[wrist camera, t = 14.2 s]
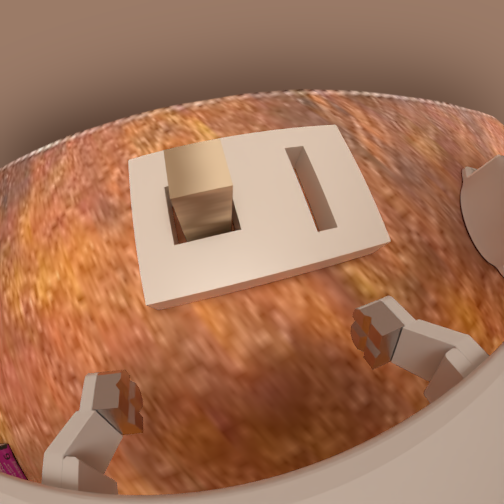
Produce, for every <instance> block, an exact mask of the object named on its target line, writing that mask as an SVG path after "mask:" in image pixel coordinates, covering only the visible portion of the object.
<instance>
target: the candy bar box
mask: <svg viewBox="0 0 504 504" xmlns="http://www.w3.org/2000/svg"><path fill="white" fill-rule="evenodd" d="M0 472H2V473H5V474H8V475H11V476H14V477H18V478H21V479H25V480H27V479H26V477H25V475H24V474H23V472H22V470H21V468H20V466H19V465H18V463H17V461H16V459H15V457H14V455H13V453H12V451H11V449H10V447H9V445H8V444H0Z"/></svg>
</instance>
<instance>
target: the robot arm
mask: <svg viewBox="0 0 504 504" xmlns="http://www.w3.org/2000/svg"><path fill="white" fill-rule="evenodd" d="M462 177H463V186H462V189H461V208H462V213H463V217H464V221H465V224H466V227H467V229H468V232H469V234H470V236H471V238H472V240H473V242H474V244H475V246H476V248H477V249H478V251H479V252H480V253H481V255H482V256H483V257H484V258H485V259H486V260H487V261H488V262H489V263H491V264H492V265H494V266H495V267H496V268H497V269H498V270H499V272H500V273H501V275H502V276H503V277H504V156H501V155H496V156H495V157H494V158H492V159H491V160H489V161H488V162H487V163H485V164H484V165H483V166H481V167H480V168H479V169H475V168H471V167H465V168H463V169H462ZM353 318H354V320H355V322H354V323H353V324H352V326H351V337H352V340H353V343H354V345H355V346H356V347H357V349H359V350H361V351H364V359H365V360H366V361H367V363H368V364H369V366H370V367H371V368H372V370H373V369H375V368H377V367H379V366H381V365H384V364H386V363H388V362H390V361H391V362H392V363H394V364H396V365H398V366H399V367H401V368H403V369H405V370H407V371H409V372H411V373H413V374H415V375H417V376H419V377H421V378H423V379H425V380H427V381H429V382H430V383H429V384H428V386H427V388H426V389H425V391H424V395H425V397H426V398H427V399H428V401H429V402H430V404H429V405H427V406H426V407H425V408H423V409H421V410H420V411H418V412H417V413H415V414H414V415H412V416H411V417H409V418H407V419H406V420H404V421H402V422H401V423H399V424H397V425H396V426H394V427H392V428H390V429H388V430H387V431H385V432H383V433H381V434H379V435H377V436H375V437H373V438H372V439H370V440H368V441H366V442H364V443H361V444H359V445H357V446H355V447H353V448H351V449H349V450H346V451H344V452H342V453H339V454H337V455H335V456H332V457H330V458H327V459H325V460H322V461H320V462H317V463H314V464H312V465H309V466H306V467H303V468H300V469H297V470H294V471H291V472H288V473H284V474H281V475H278V476H274V477H270V478H267V479H263V480H259V481H255V482H250V483H246V484H241V485H236V486H231V487H226V488H220V489H214V490H207V491H199V492H191V493H180V494H165V495H118V489H117V482H116V481H115V480H113V479H112V478H110V477H108V476H106V475H104V473H105V471H106V469H107V467H108V465H109V463H110V461H111V459H112V457H113V455H114V453H115V451H116V449H117V447H118V445H119V443H120V441H121V439H122V437H123V436H122V435H129V434H139V433H143V417H142V416H141V414H140V413H139V412H140V410H141V409H142V407H143V399H142V395H141V391H140V389H139V387H138V386H137V384H136V383H135V382H132V381H130V375H129V373H128V372H127V371H126V370H116V371H107V372H98V373H88V374H87V375H86V376H85V380H84V385H83V391H82V397H81V403H80V410H79V411H76V412H75V413H74V414H73V416H72V417H71V418H70V420H69V421H68V422H67V424H66V425H65V426H64V427H63V429H62V430H61V431H60V433H59V434H58V435H57V437H56V438H55V439H54V441H53V442H52V443H51V445H50V446H49V447H48V449H47V450H46V451H45V453H44V460H43V471H42V484H40V483H36V482H32V481H28V480H25V479H21V478H18V477H14V476H11V475H8V474H5V473H2V472H0V504H504V342H503V343H502V344H501V345H500V346H499V347H498V348H497V349H496V350H495V351H494V352H493V353H492V354H491V355H490V356H489V355H488V354H487V353H486V352H485V351H484V350H483V349H482V348H481V347H480V346H479V345H478V344H477V343H476V342H475V341H474V340H473V339H472V338H471V337H470V336H469V335H467V334H464V333H460V332H457V331H454V330H451V329H448V328H445V327H442V326H438V325H435V324H432V323H429V322H426V321H423V320H420V319H418V320H415V319H414V318H413V317H412V316H411V315H410V314H409V313H408V312H407V311H406V310H405V309H404V308H403V307H402V306H401V305H400V304H399V303H398V302H397V301H396V300H395V299H394V298H393V297H391V296H386V297H384V298H382V299H379V300H377V301H374V302H371V303H369V304H366V305H364V306H361V307H359V308H356V309H355V310H354V312H353Z"/></svg>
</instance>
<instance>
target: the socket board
mask: <svg viewBox="0 0 504 504" xmlns="http://www.w3.org/2000/svg"><path fill="white" fill-rule="evenodd" d="M219 139H220V140H221V144H222V148H223V151H224V155H225V158H226V162H227V165H228V169H229V173H230V176H231V180H232V183H233V197H232V220H233V224H234V227H235V231H233V232H228V233H224V234H220V235H215V236H211V237H207V238H203V239H199V240H194V241H190V242H186V243H182V244H179V242H178V237H177V232H176V227H175V221H174V216H173V210H172V207H173V205H172V202H171V200H170V194H169V187H168V181H167V173H166V166H165V158H164V150H163V151H159V152H156V153H152V154H148V155H144V156H141V157H137V158H134V159H130V160H128V163H129V181H130V195H131V206H132V216H133V225H134V234H135V241H136V249H137V256H138V262H139V269H140V275H141V281H142V286H143V292H144V297H145V302H146V305H147V306H149V307H152V308H154V309H157V310H161V309H165V308H170V307H174V306H178V305H183V304H187V303H191V302H195V301H200V300H204V299H208V298H212V297H216V296H220V295H224V294H228V293H232V292H236V291H240V290H244V289H248V288H252V287H255V286H259V285H263V284H267V283H271V282H274V281H278V280H282V279H285V278H289V277H293V276H296V275H300V274H304V273H307V272H311V271H314V270H318V269H321V268H325V267H328V266H332V265H335V264H339V263H342V262H345V261H349V260H352V259H356V258H359V257H362V256H365V255H369V254H372V253H373V252H375V251H377V250H378V249H380V248H381V247H383V246H384V245H386V244H387V243H389V242H390V241H391V240H390V238H389V235H388V232H387V230H386V227H385V225H384V222H383V220H382V218H381V215H380V213H379V211H378V208H377V206H376V204H375V201H374V199H373V197H372V195H371V192H370V190H369V188H368V186H367V184H366V182H365V180H364V178H363V176H362V173H361V171H360V169H359V167H358V165H357V163H356V161H355V159H354V158H353V156H352V154H351V152H350V150H349V148H348V146H347V144H346V142H345V141H344V139H343V137H342V135H341V133H340V132H339V130H338V128H337V126H336V125H324V126H310V127H298V128H288V129H279V130H271V131H263V132H256V133H249V134H242V135H236V136H230V137H225V138H219ZM208 141H209V140H208ZM203 142H204V141H203ZM293 168H295V169H296V172H297V174H298V177H299V179H300V182H301V184H302V187H303V189H304V192H305V194H306V197H307V199H308V202H309V204H310V207H311V210H312V212H313V215H314V218H315V220H316V223H317V226H318V228H319V231H320V232H317V229H316V226H315V223H314V221H313V218H312V215H311V213H310V210H309V207H308V205H307V202H306V200H305V197H304V194H303V192H302V189H301V187H300V184H299V182H298V179H297V177H296V174H295V172H294V170H293Z"/></svg>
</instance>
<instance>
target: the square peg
mask: <svg viewBox="0 0 504 504" xmlns="http://www.w3.org/2000/svg"><path fill="white" fill-rule="evenodd" d="M164 158H165V166H166V173H167V181H168V187H169V194H170V200H171V202H172V205H173V207H174V210H175V213H176V215H177V218H178V220H179V223H180V225H181V228H182V230H183V233H184V235H185V238H186V240H187V242H190V241H194V240H199V239H203V238H207V237H211V236H215V235H220V234H224V233H228V232H231V221H232V197H233V183H232V180H231V176H230V173H229V169H228V165H227V162H226V158H225V155H224V151H223V148H222V144H221V140H220V139H214V140H209V141H204V142H199V143H194V144H189V145H184V146H180V147H175V148H171V149H167V150H164Z"/></svg>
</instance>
